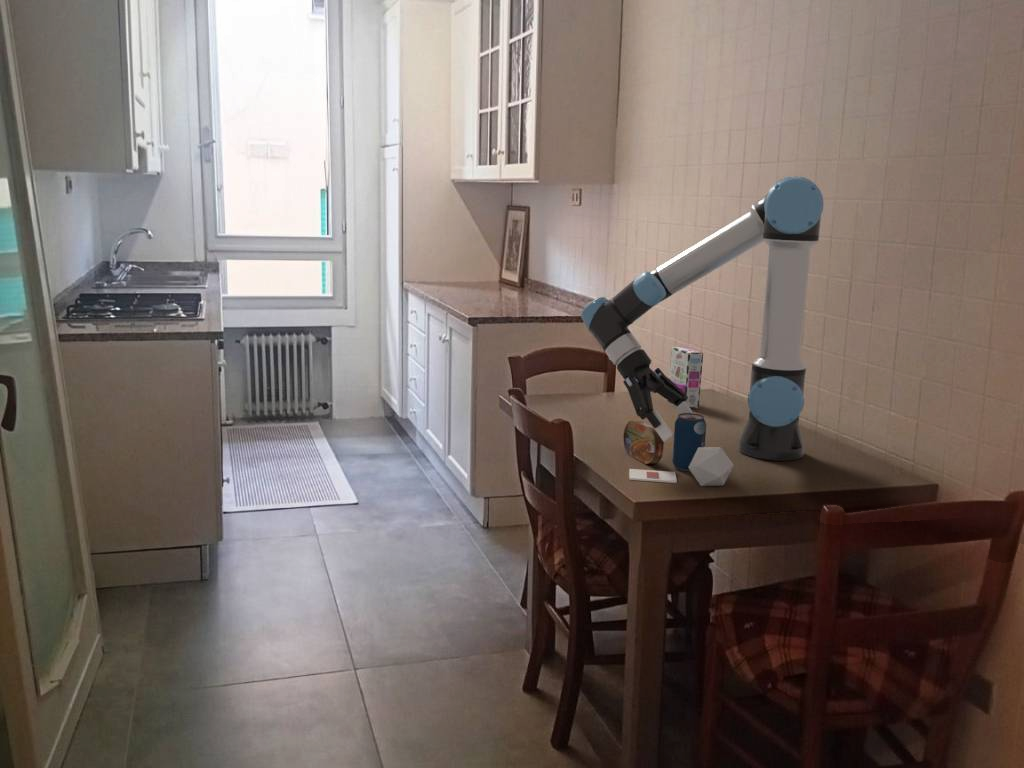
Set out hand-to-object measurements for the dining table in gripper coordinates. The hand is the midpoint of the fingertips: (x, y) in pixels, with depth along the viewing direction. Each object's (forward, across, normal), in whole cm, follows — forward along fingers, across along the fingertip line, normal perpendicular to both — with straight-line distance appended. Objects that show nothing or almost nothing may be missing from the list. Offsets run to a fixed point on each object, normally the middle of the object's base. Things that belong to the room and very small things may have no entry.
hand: (683, 432), depth 215 cm
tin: (-1, +1, -12) cm, 13 cm away
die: (+13, +7, +2) cm, 15 cm away
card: (+5, +11, -6) cm, 14 cm away
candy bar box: (-15, -59, -26) cm, 66 cm away
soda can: (+7, 0, -5) cm, 8 cm away
